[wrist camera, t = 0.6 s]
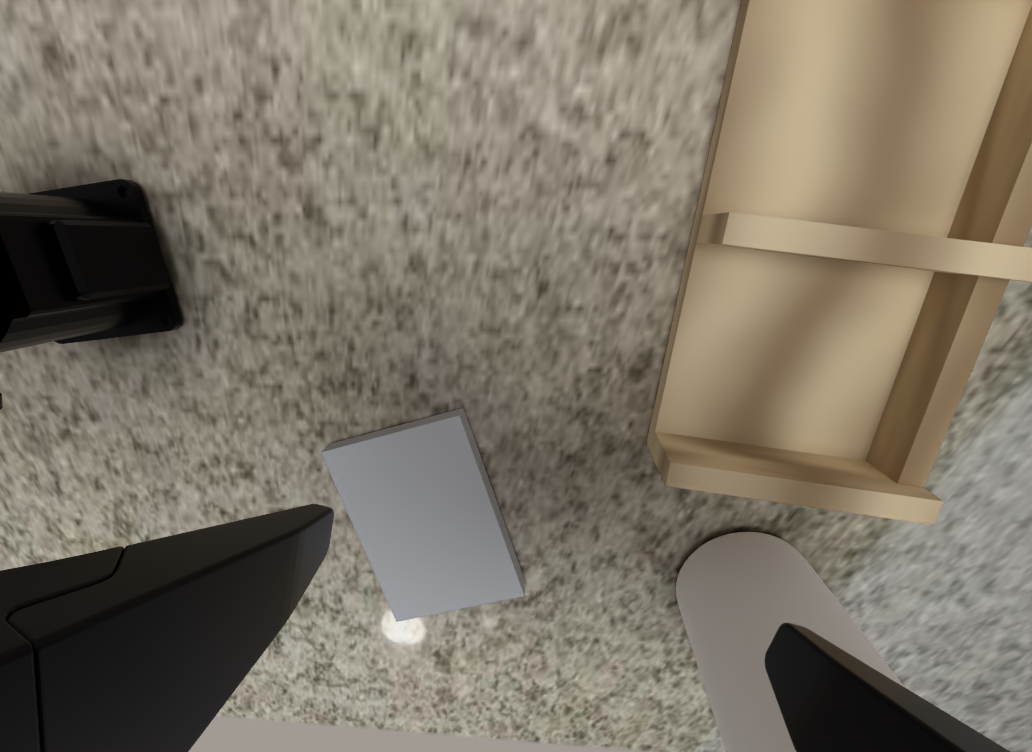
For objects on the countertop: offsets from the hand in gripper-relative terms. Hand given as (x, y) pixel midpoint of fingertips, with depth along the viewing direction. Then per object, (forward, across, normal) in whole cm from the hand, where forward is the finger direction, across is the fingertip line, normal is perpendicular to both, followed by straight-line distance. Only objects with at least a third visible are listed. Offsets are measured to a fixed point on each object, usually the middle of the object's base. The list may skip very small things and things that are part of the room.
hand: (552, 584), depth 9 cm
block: (+13, -4, -8) cm, 16 cm away
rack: (+13, +9, +8) cm, 18 cm away
